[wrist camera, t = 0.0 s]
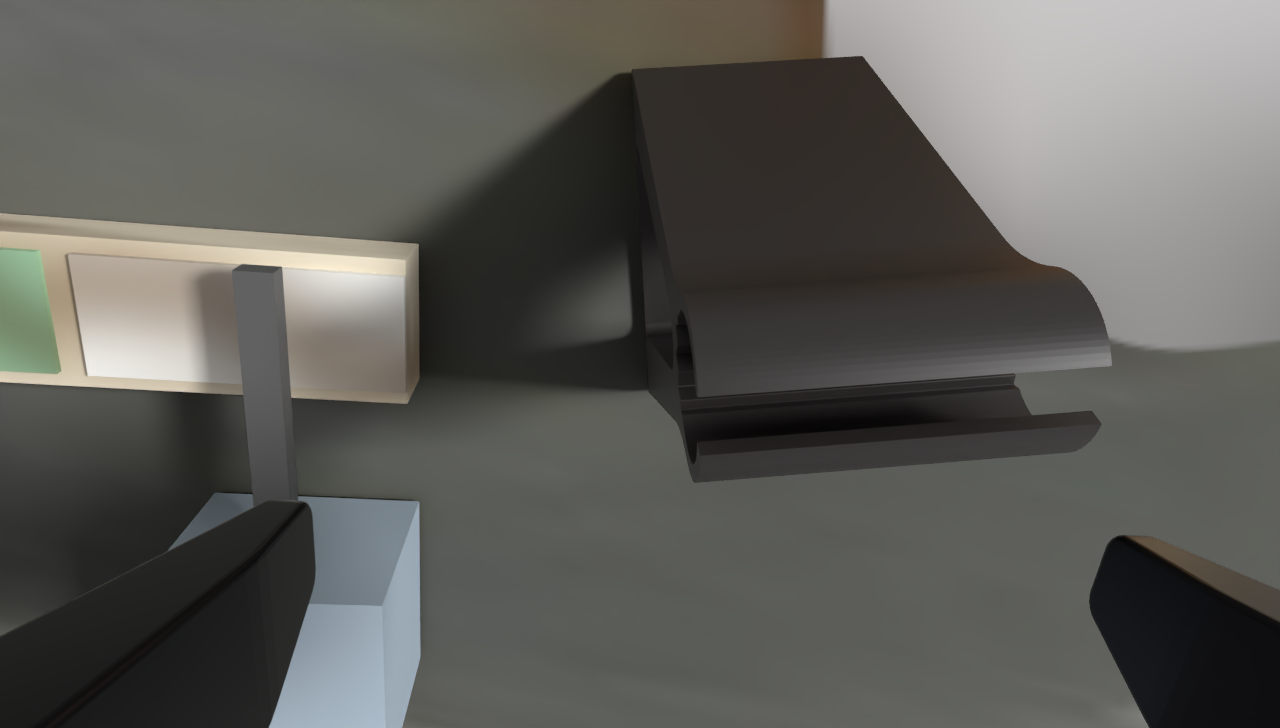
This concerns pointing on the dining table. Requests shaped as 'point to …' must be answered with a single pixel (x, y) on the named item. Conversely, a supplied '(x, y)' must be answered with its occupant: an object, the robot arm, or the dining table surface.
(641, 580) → the dining table surface
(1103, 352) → the phone stand
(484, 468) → the dining table surface
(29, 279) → the beige grey patterned tray
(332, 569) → the pale blue mallet
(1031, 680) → the dining table surface
